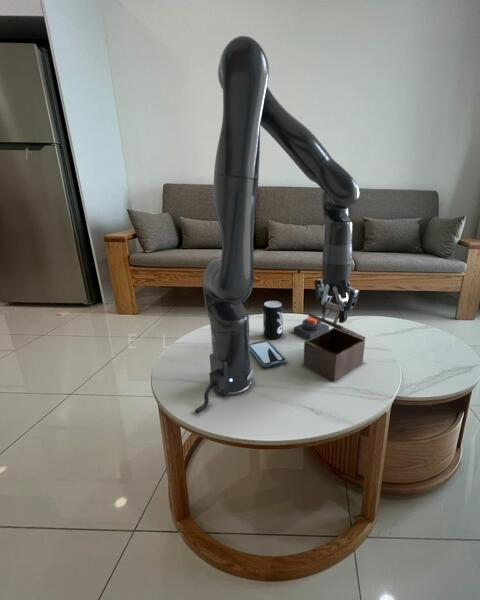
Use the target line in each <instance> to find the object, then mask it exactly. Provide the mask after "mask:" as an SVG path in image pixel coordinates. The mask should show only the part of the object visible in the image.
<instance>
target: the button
mask: <svg viewBox="0 0 480 600" xmlns="http://www.w3.org/2000/svg"><path fill="white" fill-rule="evenodd" d="M306 319H307V324H311V325H313V324H317V320H316V319H314V318H312V317H309V316H307V317H306Z"/></svg>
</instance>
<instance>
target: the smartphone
mask: <svg viewBox="0 0 480 600" xmlns="http://www.w3.org/2000/svg"><path fill="white" fill-rule="evenodd" d="M250 353H251V354H252V355H253V356H254V358H255V359H256V360H257V361H258V363H259V364H260V365H261V366H262V367H263V368H269V367H274V366H277V365H280V364H284V363H286V361H287V360H286V357H285V356H284V355H282V353H281V352H280V351H278V349H277V348H276V347H275V346H274V345H273V344H272V343H271V342H270V341H269V340H268V339H267V340H260V341H256V342H250Z"/></svg>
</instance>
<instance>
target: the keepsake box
mask: <svg viewBox="0 0 480 600" xmlns="http://www.w3.org/2000/svg"><path fill="white" fill-rule="evenodd" d="M365 344H366V339H365V340H364V339H361V338H359V337H356V336H354V335H351V334H349V333H346V332H344V331H341V330H339V329H336V328H334V327H332V328H329V330H328V331H326V332H324V333H321V334H319V335H317V336H315V337H313V338H311V339H309V340H308V339H307V340H305V341H304V342H303V366H305V367H306V368H309V369H310V370H312V371H314V372H316V373H317V374H320V375H321V376H323V377H325V378H326V379H328V380H330V381H332V382H336V381H338V380H339V379H341V378H342V377H344V376H345V375H347V374H349V373H350V372H351V371H353V370H355V369H356V368H358V367H359V366H361V365H362V364H363V362H364V353H365V346H366V345H365Z"/></svg>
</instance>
